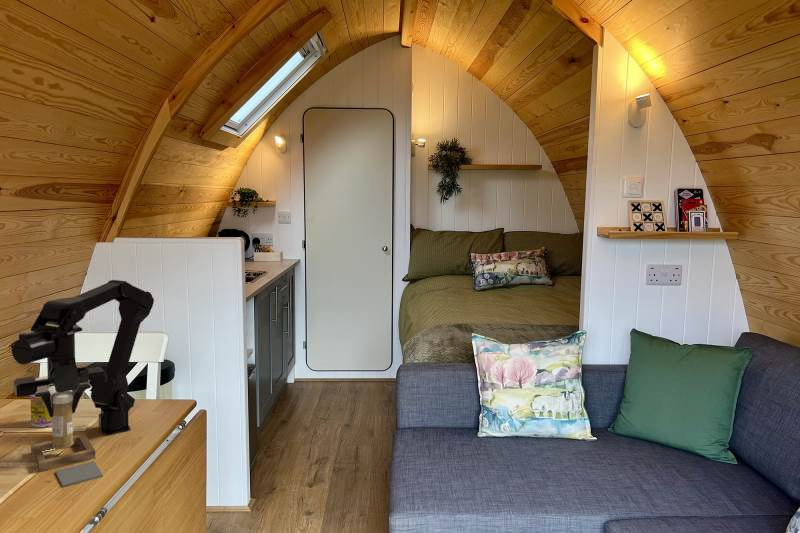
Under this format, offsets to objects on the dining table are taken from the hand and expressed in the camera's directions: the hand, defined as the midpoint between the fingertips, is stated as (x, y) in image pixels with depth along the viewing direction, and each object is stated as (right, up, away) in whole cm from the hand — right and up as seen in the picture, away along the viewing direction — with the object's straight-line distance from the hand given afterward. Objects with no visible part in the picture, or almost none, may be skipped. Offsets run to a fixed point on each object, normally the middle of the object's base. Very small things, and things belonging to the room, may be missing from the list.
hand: (62, 414), depth 133 cm
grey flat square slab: (+8, -12, -7) cm, 16 cm away
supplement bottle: (-16, -8, +18) cm, 25 cm away
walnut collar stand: (-1, -10, +1) cm, 11 cm away
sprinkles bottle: (0, -8, +1) cm, 8 cm away
